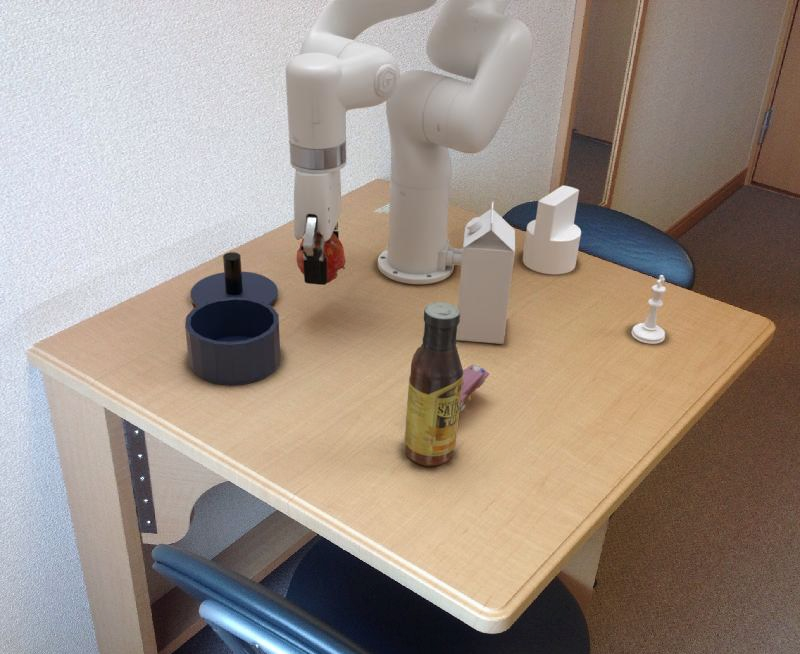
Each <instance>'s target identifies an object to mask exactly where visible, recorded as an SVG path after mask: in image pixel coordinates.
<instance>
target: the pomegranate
mask: <svg viewBox="0 0 800 654" xmlns="http://www.w3.org/2000/svg"><path fill="white" fill-rule="evenodd" d="M315 237H318V238H322V235H321V234H320V233H316V236H315ZM303 242H304V237H303V238H302V239H301V242H300V243H299V244H300V245H299V248H298V249H297V252H296V265H297V268H298V269H299V272H300V273H301V274H302V275H304V261H303V251H304V249H303ZM315 248H318V250H319V251H320V242H315ZM345 255H346V254H345V249H344V246H343V243H342V241H341V240H340V238H339V239H338V238H337V236H336V235H335V234H334V233H332V235H331V237H330V239H329V240H327V241H326V243H325V256H324V258H327V284H329V283H331V282H332V281H334V280H336V279H337V277H338V276H339V275H338V272H339V271H340V270H341V269H343V270H345V269H346V267H345V266H346V256H345Z"/></svg>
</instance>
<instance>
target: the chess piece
mask: <svg viewBox="0 0 800 654" xmlns="http://www.w3.org/2000/svg"><path fill="white" fill-rule="evenodd" d="M665 281H666V278H665V275H663V274H660V275H659V277H658V280H656V282H655V284H653V285H652V286H651V293H652V298H649V299H648V301H647V303H648V304H649V306H650V309H649V312H648V313H647V316H646V319H645V321H644V322H640V323H636V324H635V325H633V327H632V329H631V336H632V337H633V338H634V339H635V340H637V341H638V342H641V343H644V344H648V345H650V344H651V345H657V344H660V343H662V342H663V341H665V339H666V331H665V330H664V329H663V328H662V327H661V326H659V325H658V324H657V319H658V310H659V307H662V306H663V305H664V302H663V300H662V297H663V296H664V294H666V291H667V288H666V287H665V286H664V285H663V283H664V282H665Z"/></svg>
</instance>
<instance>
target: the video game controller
mask: <svg viewBox="0 0 800 654" xmlns="http://www.w3.org/2000/svg"><path fill="white" fill-rule="evenodd" d="M489 375H490V373H489V372H488V371H487V370H485V369H484V367H481V366H479V365H477V364H476V363H474V364H471V365H469V366H468V367H466V368H463V383H462V391H461V400H460V410H459V413H460V412H462V411H463V410H464V409H465V408H466V404H465V402H470V401H471V400H472V395H473V393H474V392H475V391H477V389H480V387H482V385H484V383H485V381H486V379H487V378H488V377H489Z"/></svg>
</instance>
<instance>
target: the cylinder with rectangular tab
mask: <svg viewBox="0 0 800 654" xmlns="http://www.w3.org/2000/svg"><path fill="white" fill-rule="evenodd" d="M579 193H580V189H578V188H576V187H572V186H568V185H563V184H562V185H561V186H559V187H558V188H557V189H555V190H553V191H551V192H550V193H549V194H547V195H545V196H544V197H542V198H541V199H539V200H537V209H536V216H535V219H533V220H531V221H529V222H528V224H527V225H526V230H525V231H526V232H525V238H524V245H523V246H524V247H523V253H522V262H523V264H524V265H525V266H526V267H527V268H529V270H532V271H533V272H537V273H540V274H544V275H564V274H568V273H570V272H572V271H574V270H575V268H576V265H577V259H578V255H579V247H580V241H581V236H582V230H581V228H580V226H578V225H577V224H575V218H576V211H577V208H578V207H577V206H578V199H579V195H580V194H579Z"/></svg>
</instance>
